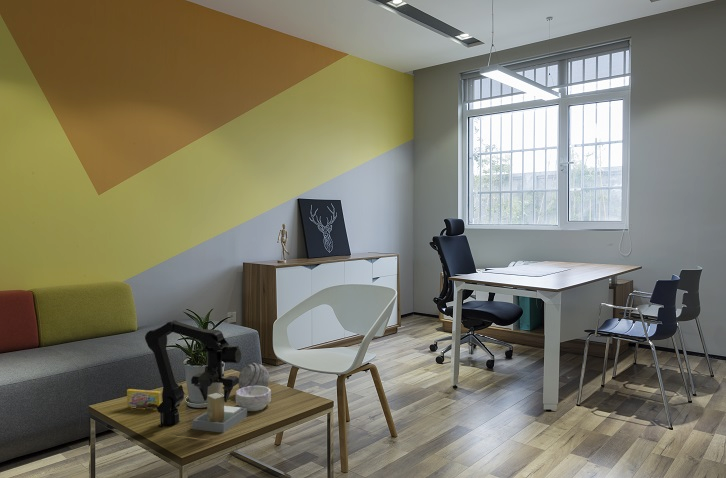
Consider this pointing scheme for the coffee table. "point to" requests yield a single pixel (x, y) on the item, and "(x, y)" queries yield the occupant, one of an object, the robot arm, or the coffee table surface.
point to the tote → (205, 425)
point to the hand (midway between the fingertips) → (215, 401)
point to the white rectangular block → (230, 412)
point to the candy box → (143, 399)
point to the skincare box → (215, 408)
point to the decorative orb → (253, 376)
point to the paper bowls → (253, 397)
